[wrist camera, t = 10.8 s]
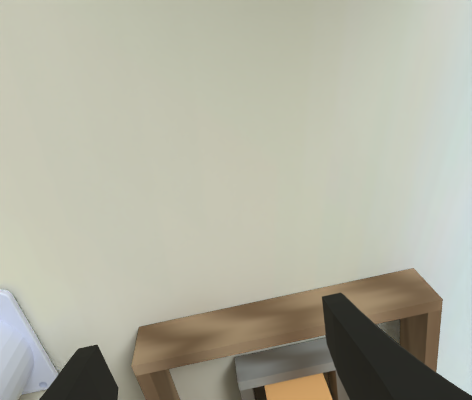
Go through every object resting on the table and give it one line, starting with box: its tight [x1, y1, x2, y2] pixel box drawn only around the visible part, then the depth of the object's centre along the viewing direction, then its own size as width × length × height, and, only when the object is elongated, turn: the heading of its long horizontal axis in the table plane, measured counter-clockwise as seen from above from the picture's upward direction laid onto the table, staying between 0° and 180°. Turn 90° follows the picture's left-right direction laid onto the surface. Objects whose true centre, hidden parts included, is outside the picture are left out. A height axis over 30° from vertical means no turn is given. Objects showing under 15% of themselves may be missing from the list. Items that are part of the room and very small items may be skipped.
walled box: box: [131, 268, 443, 400], centre depth 25 cm, size 18×16×3 cm
